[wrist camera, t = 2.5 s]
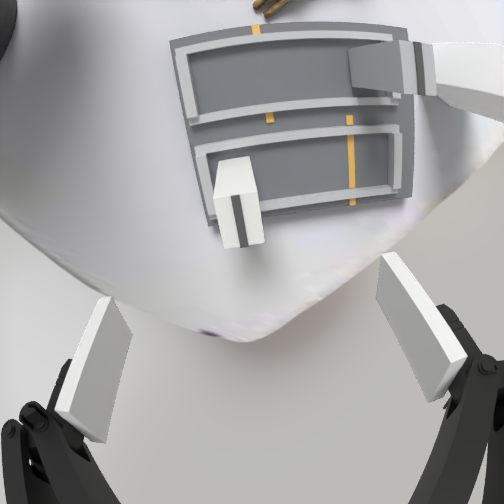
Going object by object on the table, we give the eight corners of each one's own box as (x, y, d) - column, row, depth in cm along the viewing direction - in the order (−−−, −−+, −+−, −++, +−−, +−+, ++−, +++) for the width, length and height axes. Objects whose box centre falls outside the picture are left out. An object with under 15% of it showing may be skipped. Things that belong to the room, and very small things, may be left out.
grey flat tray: (209, 218, 34) (207, 232, 31) (173, 43, 24) (166, 39, 21) (403, 190, 34) (417, 201, 31) (397, 30, 23) (413, 27, 20)
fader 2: (351, 86, 25) (405, 94, 16) (347, 49, 23) (400, 39, 14) (378, 86, 25) (438, 96, 16) (374, 50, 23) (434, 44, 14)
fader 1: (225, 198, 31) (224, 250, 22) (218, 161, 28) (212, 200, 20) (255, 193, 30) (265, 243, 22) (249, 155, 28) (257, 192, 20)
